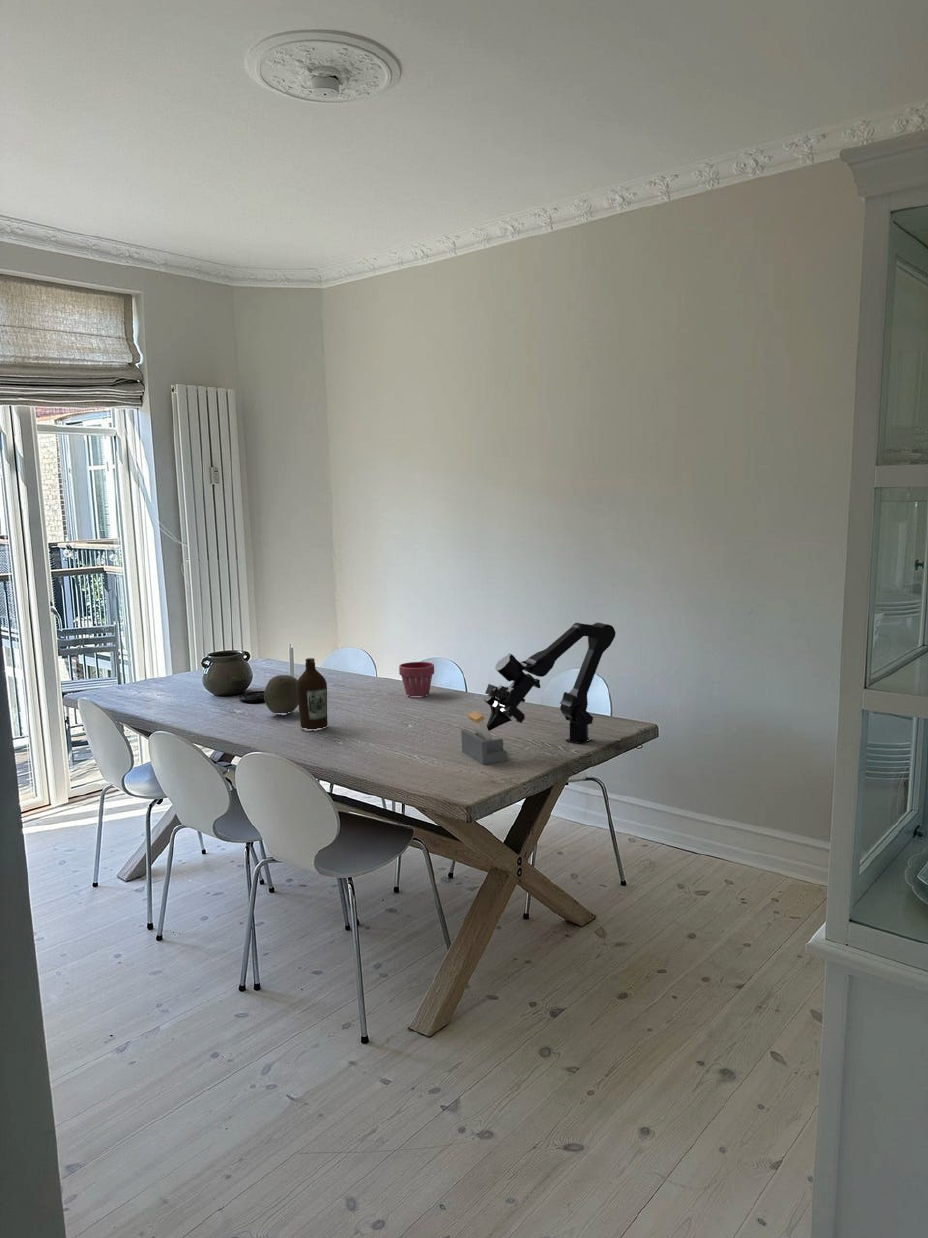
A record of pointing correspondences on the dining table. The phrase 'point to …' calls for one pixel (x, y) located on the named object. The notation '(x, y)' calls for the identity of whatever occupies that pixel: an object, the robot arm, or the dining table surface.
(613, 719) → the dining table surface
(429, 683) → the plant pot
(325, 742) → the dining table surface
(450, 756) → the dining table surface
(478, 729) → the breaker lever
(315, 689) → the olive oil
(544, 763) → the dining table surface
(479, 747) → the breaker box
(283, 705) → the cantaloupe
